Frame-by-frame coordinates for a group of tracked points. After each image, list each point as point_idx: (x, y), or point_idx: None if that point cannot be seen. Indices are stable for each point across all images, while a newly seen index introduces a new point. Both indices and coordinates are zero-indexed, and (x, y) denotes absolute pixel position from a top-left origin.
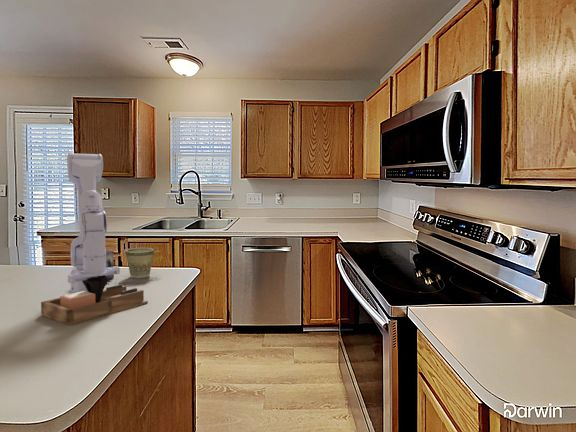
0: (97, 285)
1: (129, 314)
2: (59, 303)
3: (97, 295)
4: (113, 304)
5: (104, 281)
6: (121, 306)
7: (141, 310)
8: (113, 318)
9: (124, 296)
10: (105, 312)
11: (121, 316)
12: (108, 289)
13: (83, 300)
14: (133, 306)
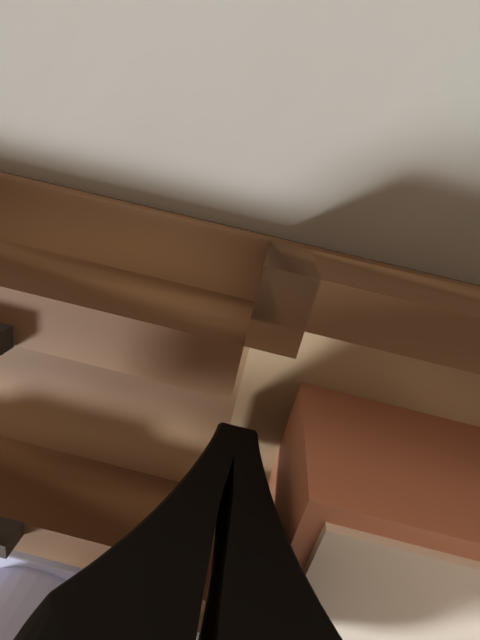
0: (258, 610)
1: (223, 35)
2: None
3: (244, 483)
4: (183, 299)
5: (121, 626)
6: (119, 261)
7: (61, 16)
8: (395, 99)
9: (24, 284)
10: (335, 257)
11: (311, 67)
12: (7, 527)
13: (450, 499)
14: (38, 183)
